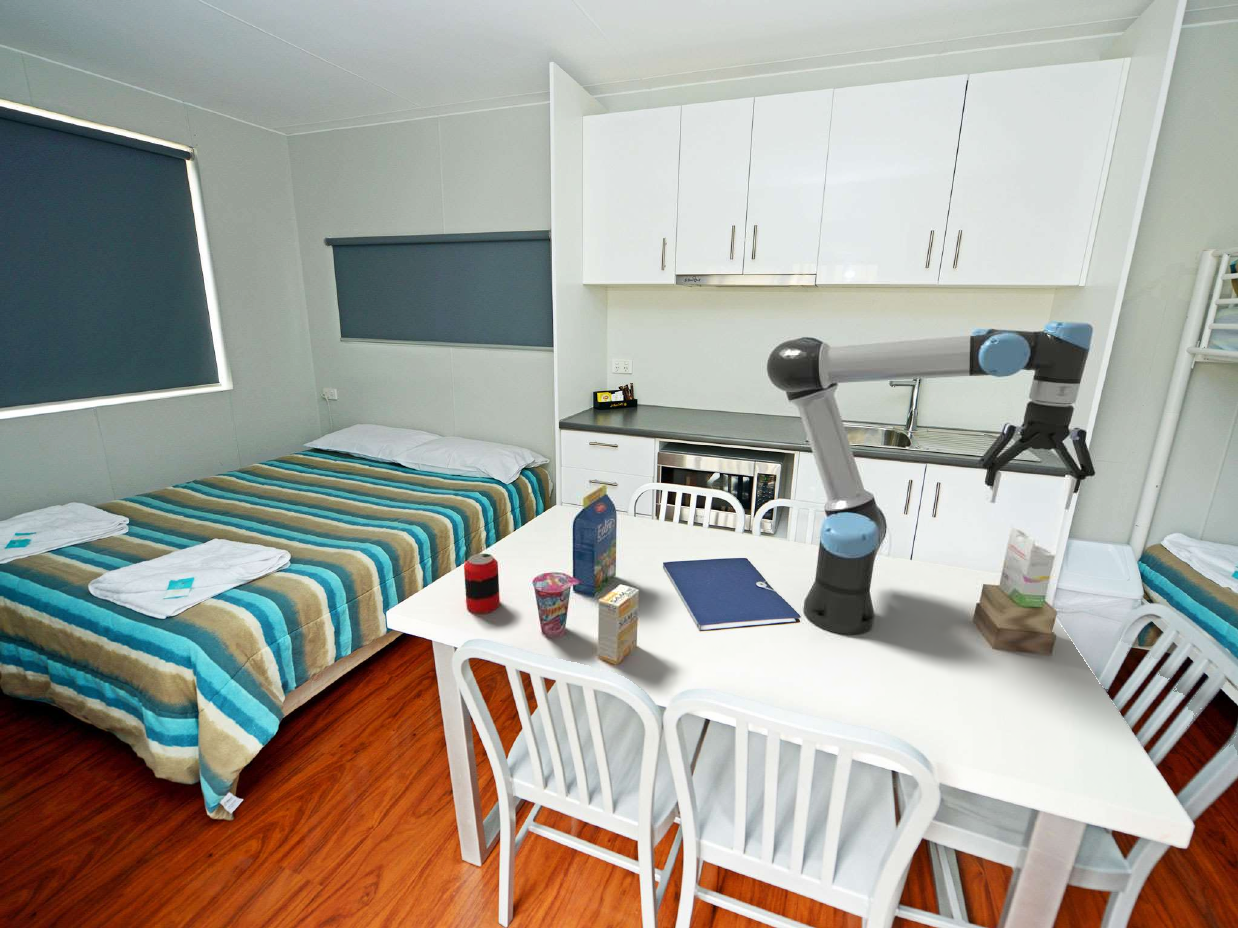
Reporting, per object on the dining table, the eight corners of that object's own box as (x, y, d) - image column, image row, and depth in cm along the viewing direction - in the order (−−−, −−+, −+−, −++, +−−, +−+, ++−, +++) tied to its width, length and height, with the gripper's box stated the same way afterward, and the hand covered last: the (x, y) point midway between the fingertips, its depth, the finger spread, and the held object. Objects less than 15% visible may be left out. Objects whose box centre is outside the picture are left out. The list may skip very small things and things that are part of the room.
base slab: (992, 649, 121) (997, 629, 119) (972, 622, 131) (976, 602, 130) (1050, 656, 119) (1056, 635, 117) (1026, 628, 129) (1030, 608, 128)
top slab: (998, 627, 120) (1003, 606, 118) (978, 603, 129) (983, 583, 128) (1051, 633, 118) (1057, 612, 116) (1028, 608, 127) (1033, 588, 126)
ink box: (1045, 608, 118) (1060, 541, 114) (1019, 607, 118) (1033, 540, 114) (1021, 588, 126) (1034, 525, 122) (997, 586, 126) (1010, 524, 122)
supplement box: (617, 666, 113) (618, 606, 109) (597, 657, 115) (597, 599, 112) (638, 645, 120) (640, 589, 116) (618, 638, 122) (619, 582, 118)
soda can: (506, 601, 136) (504, 555, 132) (486, 617, 129) (483, 568, 126) (480, 594, 139) (477, 549, 135) (459, 609, 132) (456, 562, 129)
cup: (541, 646, 119) (540, 594, 115) (528, 625, 126) (526, 576, 123) (582, 635, 123) (582, 584, 120) (567, 616, 130) (567, 568, 127)
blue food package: (572, 591, 141) (571, 495, 134) (594, 571, 151) (595, 481, 144) (594, 597, 138) (595, 500, 131) (616, 576, 149) (617, 485, 142)
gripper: (988, 402, 112) (967, 504, 118) (1136, 410, 107) (1105, 516, 113) (974, 395, 119) (954, 492, 125) (1112, 403, 114) (1084, 503, 120)
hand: (1026, 504), depth 119 cm, fingers open, 13 cm apart
